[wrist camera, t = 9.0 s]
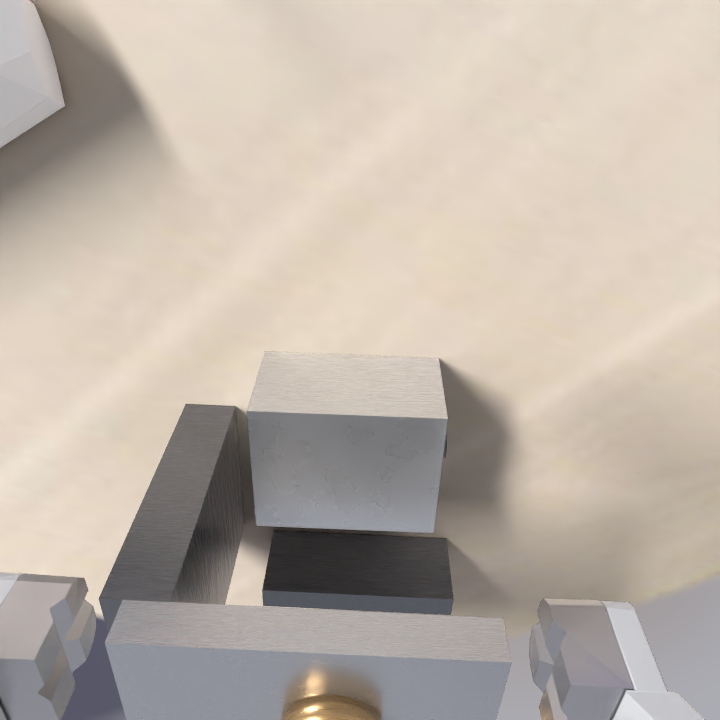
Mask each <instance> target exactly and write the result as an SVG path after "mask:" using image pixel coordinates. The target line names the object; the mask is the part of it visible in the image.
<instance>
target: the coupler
mask: <svg viewBox="0 0 720 720" xmlns="http://www.w3.org/2000/svg"><path fill="white" fill-rule="evenodd" d="M244 524H245V522H244V509H243V497H242V485H241V472H240V460H239V448H238V435H237V423H236V411H235V406H216V405H195V404H186V405H185V407H184V409H183V412H182V414H181V416H180V418H179V421H178V423H177V425H176V427H175V430H174V432H173V434H172V436H171V438H170V441H169V443H168V445H167V447H166V450H165V452H164V454H163V456H162V459H161V461H160V463H159V465H158V468H157V470H156V472H155V474H154V476H153V479H152V481H151V483H150V485H149V488H148V490H147V492H146V494H145V497H144V499H143V501H142V503H141V505H140V508H139V510H138V512H137V514H136V517H135V519H134V521H133V523H132V526H131V528H130V530H129V532H128V534H127V537H126V539H125V541H124V543H123V546H122V548H121V550H120V552H119V555H118V557H117V559H116V561H115V564H114V566H113V568H112V570H111V572H110V575H109V577H108V579H107V581H106V584H105V586H104V588H103V590H102V593H101V595H100V597H99V601H100V605H101V609H102V612H103V616H104V620H105V623H106V627H107V630H108V636H107V639H106V641H105V645H106V649H107V652H108V656H109V659H110V663H111V666H112V670H113V673H114V677H115V680H116V684H117V687H118V691H119V695H120V698H121V702H122V705H123V709H124V712H125V715H126V720H496V718H497V714H498V710H499V707H500V703H501V700H502V696H503V692H504V689H505V685H506V682H507V677H508V674H509V671H510V667H511V663H512V662H511V657H510V651H509V646H508V641H507V635H506V630H505V625H504V619H503V618H488V617H468V616H447V615H451V610H452V604H453V592H452V583H451V575H450V566H449V558H448V549H447V540H446V539H445V538H424V537H403V536H382V535H361V534H340V533H320V532H299V531H278V530H274V532H273V537H272V542H271V548H270V553H269V558H268V563H267V569H266V574H265V579H264V584H263V590H262V592H263V606H279V607H261V606H240V605H225V602H226V598H227V594H228V590H229V586H230V582H231V577H232V573H233V569H234V565H235V561H236V557H237V553H238V549H239V545H240V541H241V537H242V533H243V529H244ZM281 607H300V608H281ZM302 608H320V609H302ZM323 609H341V610H323ZM343 610H362V611H343ZM364 611H382V612H364ZM385 612H403V613H385ZM406 613H424V614H406ZM426 614H445V615H426Z"/></svg>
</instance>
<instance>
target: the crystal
mask: <svg viewBox="0 0 720 720" xmlns="http://www.w3.org/2000/svg"><path fill="white" fill-rule="evenodd" d="M0 75H1V76H0V148H1V147H2V146H4V145H6V144H7V143H9V142H10V141H12V140H13V139H15V138H16V137H18V136H19V135H21V134H22V133H24V132H26V131H27V130H29V129H30V128H32V127H33V126H35V125H36V124H38V123H39V122H41V121H42V120H44V119H46V118H47V117H49V116H50V115H52V114H53V113H55V112H56V111H58V110H59V109H61V108H63V107H64V106H65V103H64V99H63V94H62V90H61V85H60V81H59V76H58V72H57V67H56V64H55V60H54V57H53V53H52V50H51V46H50V43H49V40H48V37H47V35H46V32H45V30H44V27H43V25H42V22H41V20H40V17H39V15H38V12H37V10H36V7H35V5H34V4H33V3H32V2H31V1H29V0H0ZM2 76H3V77H2ZM9 79H10V80H9ZM11 80H12V81H11ZM18 83H19V84H18Z"/></svg>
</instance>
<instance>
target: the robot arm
mask: <svg viewBox="0 0 720 720" xmlns="http://www.w3.org/2000/svg"><path fill="white" fill-rule="evenodd" d="M87 592H88V587H87V584H86V582H85V579H84V578H80V577H66V576H51V575H37V574H24V573H5V572H0V720H61V718H62V716H63V714H64V711H65V709H66V707H67V704H68V702H69V700H70V697H71V695H72V693H73V690H74V688H75V681H74V678H73V674H72V672H73V671H74V670H75V669H77V668H78V667H79V666H80V665H81V664H82V663H83V662H85V661H86V659H87V657H88V654H89V652H90V649H91V647H92V644H93V639H94V634H95V630H96V615H95V611H94V607H93V606H92V605H91V604H90V603H89V602H87V601H86V600H85V596H86V594H87ZM538 616H539V620H540V622H539V623H538V624H536V625H535V626H533V628H532V632H531V636H530V648H529V657H530V666H531V671H532V676H533V681H534V683H535V684H536V685H537V686H538V687H539V688H540V690H541V691H542V692H543V696H542V699H541V703H540V706H539V710H540V714H541V719H542V720H705V719H704V718H703V717H702V716H701V715H700V714H699V713H698V712H697V711H696V710H695V709H693V708H692V707H691V706H690V705H689V704H688V703H687V702H686V701H685V700H684V699H683V698H682V697H681V696H680V695H679V694H678V693H676V692H668V690H667V688H666V685H665V683H664V680H663V678H662V675H661V673H660V671H659V668H658V665H657V663H656V660H655V658H654V656H653V653H652V650H651V648H650V646H649V643H648V641H647V638H646V636H645V633H644V631H643V628H642V626H641V624H640V621H639V618H638V616H637V613H636V611H635V608H634V607H633V606H632V605H631V604H630V603H629V602H614V601H598V600H581V599H549V598H544V599H543V600H542V601H541V602H540V605H539V608H538Z"/></svg>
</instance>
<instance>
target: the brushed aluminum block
mask: <svg viewBox="0 0 720 720" xmlns="http://www.w3.org/2000/svg"><path fill="white" fill-rule="evenodd" d="M247 420H248V432H249V445H250V457H251V469H252V482H253V494H254V506H255V519H256V526H273V527H298V528H323V529H348V530H372V531H397V532H422V533H434V525H435V518H436V510H437V502H438V494H439V486H440V478H441V470H442V462H443V458H445V456H446V448H447V435H446V430H447V422H448V416H447V409H446V403H445V396H444V389H443V383H442V376H441V370H440V363H439V358H430V357H404V356H378V355H352V354H326V353H300V352H275V351H265V352H264V356H263V359H262V362H261V366H260V369H259V372H258V376H257V379H256V382H255V385H254V389H253V392H252V395H251V399H250V402H249V405H248V409H247Z"/></svg>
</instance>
